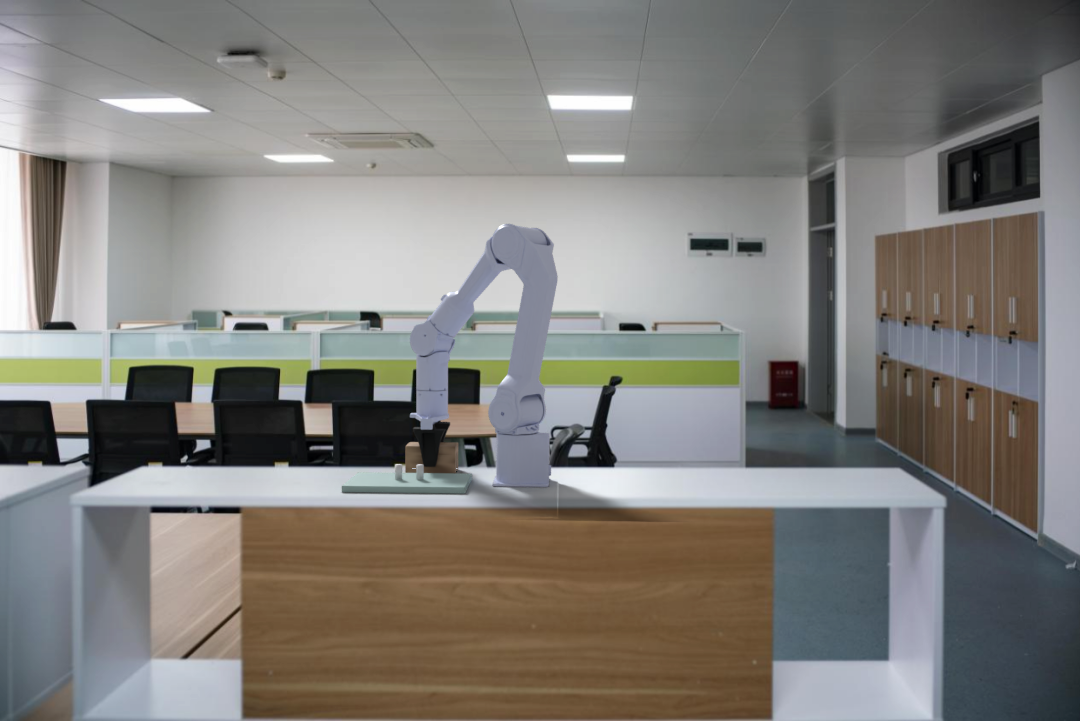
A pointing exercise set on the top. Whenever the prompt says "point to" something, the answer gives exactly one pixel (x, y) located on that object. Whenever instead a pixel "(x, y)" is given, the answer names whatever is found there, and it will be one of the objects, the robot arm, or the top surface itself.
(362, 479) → the pin board
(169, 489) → the top surface
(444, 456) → the box
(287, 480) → the top surface
